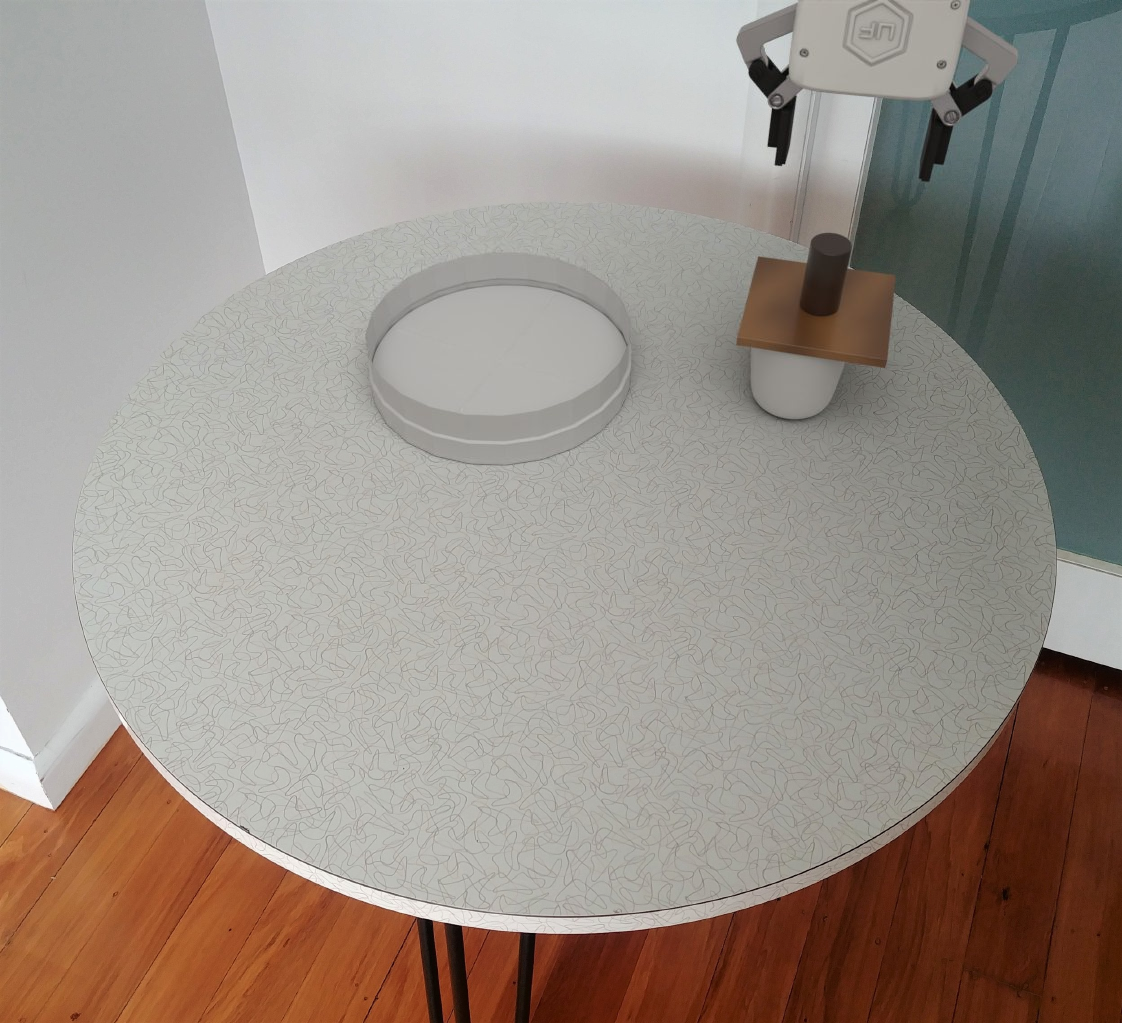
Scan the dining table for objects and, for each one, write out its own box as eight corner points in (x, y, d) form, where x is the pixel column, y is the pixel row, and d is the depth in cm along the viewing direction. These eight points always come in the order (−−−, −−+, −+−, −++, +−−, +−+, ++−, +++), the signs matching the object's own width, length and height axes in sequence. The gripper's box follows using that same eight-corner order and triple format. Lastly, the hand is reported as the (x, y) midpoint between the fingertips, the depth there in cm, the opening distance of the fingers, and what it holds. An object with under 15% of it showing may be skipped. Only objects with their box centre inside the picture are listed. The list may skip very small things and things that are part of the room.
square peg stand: (893, 283, 85) (911, 214, 80) (885, 368, 78) (904, 297, 73) (757, 264, 87) (766, 195, 83) (736, 345, 80) (745, 274, 75)
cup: (813, 343, 93) (828, 266, 87) (882, 391, 88) (903, 312, 82) (721, 392, 88) (731, 314, 83) (789, 445, 84) (804, 366, 78)
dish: (319, 415, 87) (308, 368, 84) (453, 274, 101) (449, 228, 97) (561, 499, 80) (560, 451, 77) (671, 335, 94) (674, 288, 90)
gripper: (742, -101, 60) (718, 177, 72) (1067, -83, 56) (983, 206, 69) (761, -141, 65) (735, 126, 77) (1060, -126, 61) (983, 151, 74)
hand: (852, 164), depth 73 cm, fingers open, 9 cm apart
